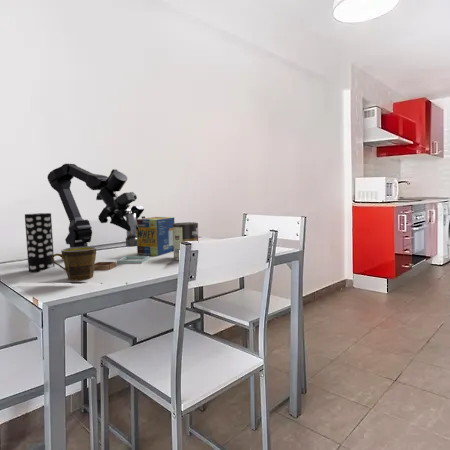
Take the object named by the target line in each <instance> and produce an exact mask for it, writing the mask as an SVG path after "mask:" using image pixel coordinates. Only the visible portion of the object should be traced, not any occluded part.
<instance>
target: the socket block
mask: <svg viewBox="0 0 450 450" xmlns="http://www.w3.org/2000/svg"><path fill="white" fill-rule="evenodd" d="M116 267H117V261H98V262H95V266H94V271H109V270H112V269H115V268H116Z"/></svg>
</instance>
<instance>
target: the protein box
mask: <svg viewBox="0 0 450 450" xmlns="http://www.w3.org/2000/svg"><path fill="white" fill-rule="evenodd" d="M136 220H137V224H138V227H139V229H138V230H136V232H137V238H138V246H136V250H137V251H136V252H137V253H136V254H137V255H136V256H152V257H155V256H156V257H158V256H162V255H166V254H168V253H172V252H173V253H174V247H173V226H172V224H174V223H175V217H173V216H172V217H171V216H168V217H167V216H152V217H147V218H145V217H144V218H138V219H136Z"/></svg>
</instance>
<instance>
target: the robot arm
mask: <svg viewBox="0 0 450 450" xmlns="http://www.w3.org/2000/svg"><path fill="white" fill-rule="evenodd" d="M74 178H76V179H78V180H80V181H81V182H83V183H85V185H86V187H87V188H89V190H92V191H99V192H97V193H96V201H102V202H103V203H104V204H105V207H103V209H102V210H101V212H100V213H99V215H98V216H97V217H98V221H99V222H100V223H101V224H106V223H108V221H109V219H108V218H110V222H109V224H112V225H115V226H116V227H120V228H122V229H123V230H125V231H126V232H127V231H130V230H131V228H130V226H129V225H128V223H127V222H126V214H136V219H140V216H141V215H142V214H143V212H144V211H145V209H144V207H143V206H142V205H133V206H132V207H131V205H130V204H131V203H133V202H135V201H136V200H137V199H138V197H137V194H136V193H135V192H134V191H130V192H123V193H121V194H120V195H118V194H117V192H121V190H122V188H123V187H124V186H125V184H126V182H127V181H128V176H127V174H124V173H123V172H122V171H118V169H115V168H114V169H112V170H111V171H110V174H109V175H108V176H106V175H102V174H96V173H92V172H90V171H89V170H86V169H84V168H82V167H80V166H78V165H77V164H75V163H64V164H62V165H61V166H59V167H56V168H54V169H53V170H51V171H50V172H49V173H48V174H47V181H48V183H49V185H50V186H51V188H52V189H53V190H55V191H56V193H57V194H58V196H59V198H60V201H61V204H62V206H63V208H64V210H65V213H66V216H67V218H68V221H69V226H68V234H67V236H66V237H65V244H66V245H69V248H72V247H90V246H89V245H88V243H91V241H92V235H93V227H92V226H91V223H90V220H89V219H84V218H83V216H82V215H81V213H80V210H79V208H78V205H77V203H76V200H75V197H74V196H73V193H72V190H71V184H72V180H73V179H74ZM129 208H130V209H129ZM138 229H139V227H138V224H137V220H136V230H138Z"/></svg>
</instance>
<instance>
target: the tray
mask: <svg viewBox="0 0 450 450" xmlns="http://www.w3.org/2000/svg"><path fill="white" fill-rule="evenodd" d="M149 260H150V256H149V255H129V256H127V255H125V256H124V257H122V258H119V259H117V260H116V264H143V263H145V262H147V261H149Z"/></svg>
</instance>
